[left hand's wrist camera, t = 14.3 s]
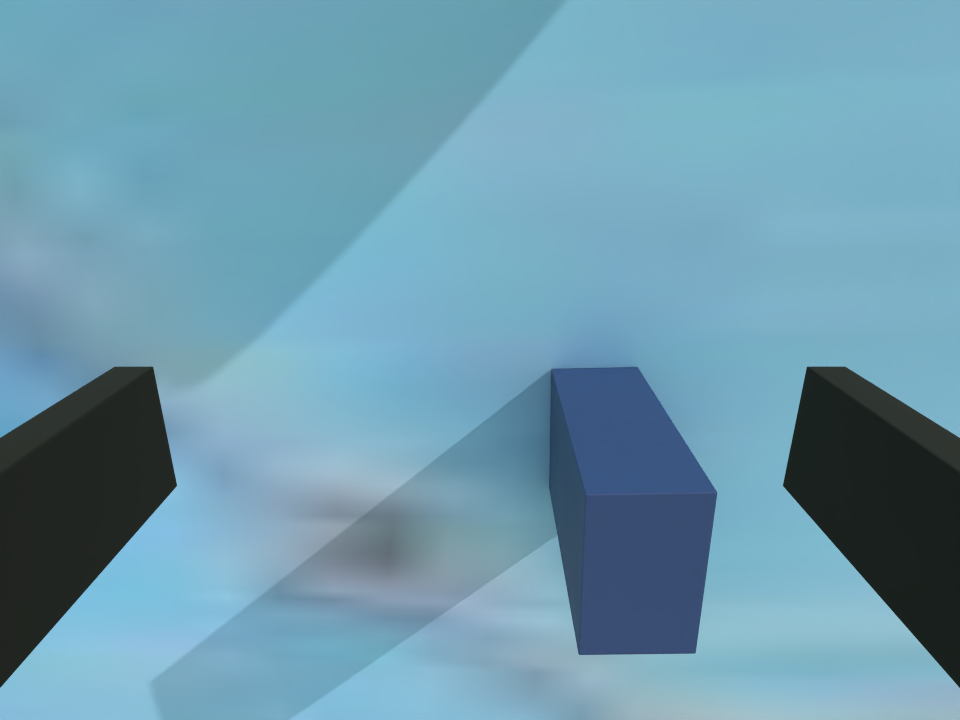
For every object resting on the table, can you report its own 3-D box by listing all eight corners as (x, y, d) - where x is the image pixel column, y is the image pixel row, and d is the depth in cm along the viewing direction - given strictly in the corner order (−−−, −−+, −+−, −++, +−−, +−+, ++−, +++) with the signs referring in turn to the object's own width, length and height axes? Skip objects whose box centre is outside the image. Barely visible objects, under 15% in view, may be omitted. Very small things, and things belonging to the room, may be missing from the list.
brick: (629, 486, 35) (695, 654, 24) (549, 488, 35) (578, 655, 24) (637, 366, 32) (717, 492, 21) (551, 368, 32) (585, 494, 21)
